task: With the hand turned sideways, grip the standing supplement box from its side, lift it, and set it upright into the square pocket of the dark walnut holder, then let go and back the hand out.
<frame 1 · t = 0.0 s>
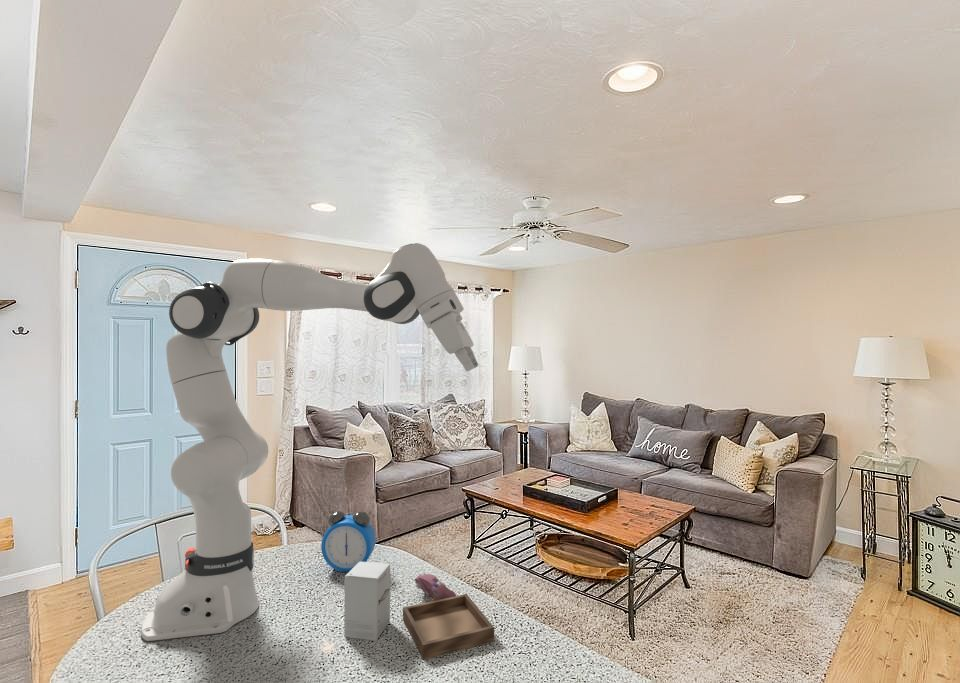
hand: (473, 368, 108), 54 cm above the table, tool tilted 30°, fingers open, 8 cm apart
walnut holder: (446, 630, 105), on the table
video game controller: (434, 599, 119), on the table
supplement box: (367, 630, 106), on the table
alarm clock: (349, 568, 135), on the table
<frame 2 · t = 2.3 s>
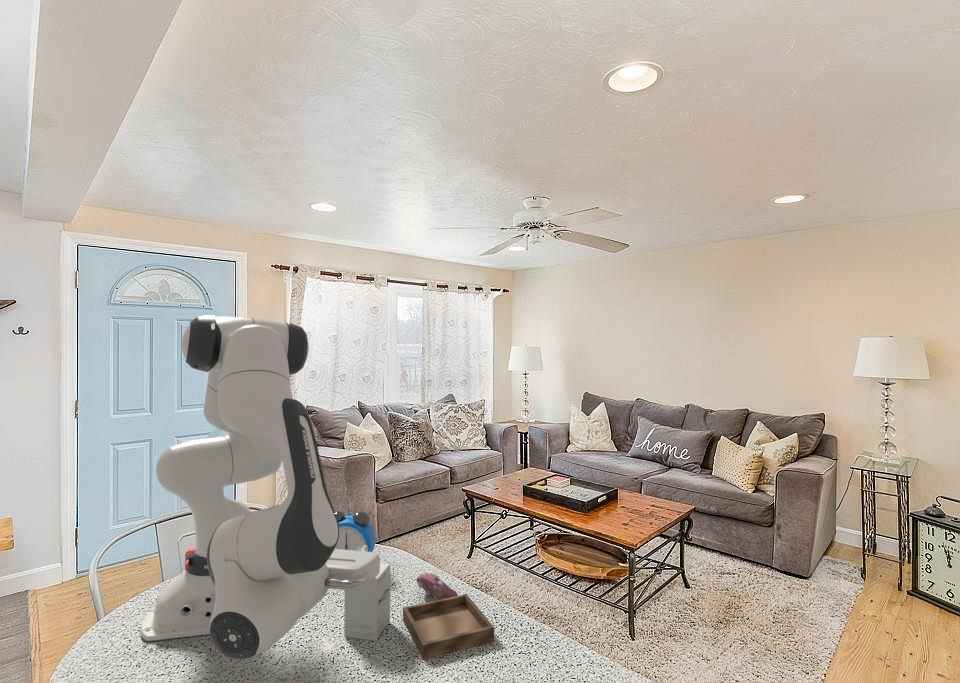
hand: (340, 547, 94), 22 cm above the table, tool horizontal, fingers open, 8 cm apart
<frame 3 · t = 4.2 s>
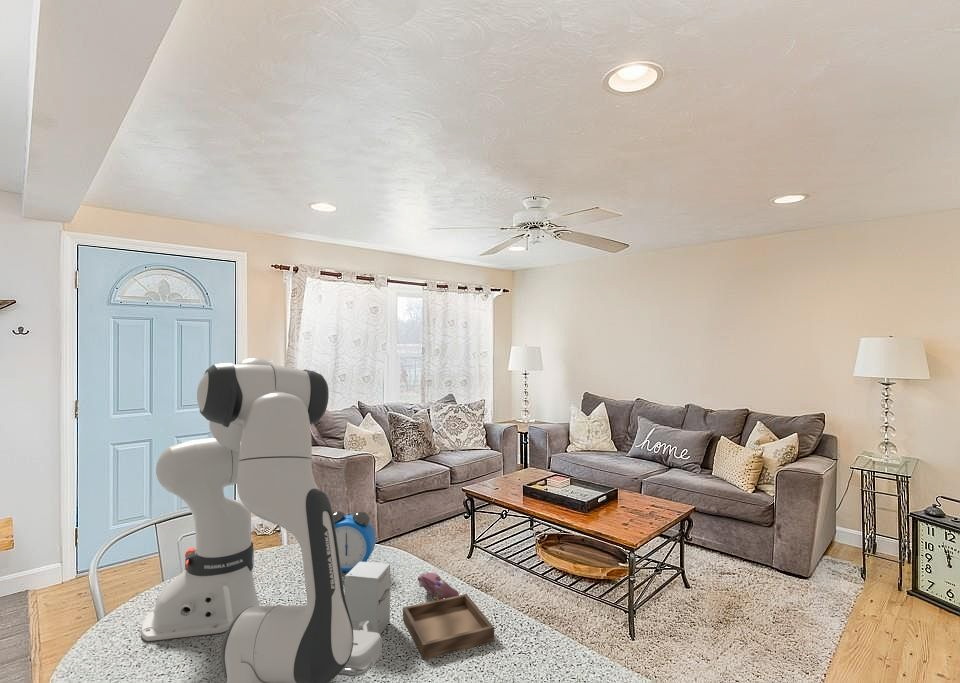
hand: (343, 621, 95), 7 cm above the table, tool horizontal, fingers open, 8 cm apart
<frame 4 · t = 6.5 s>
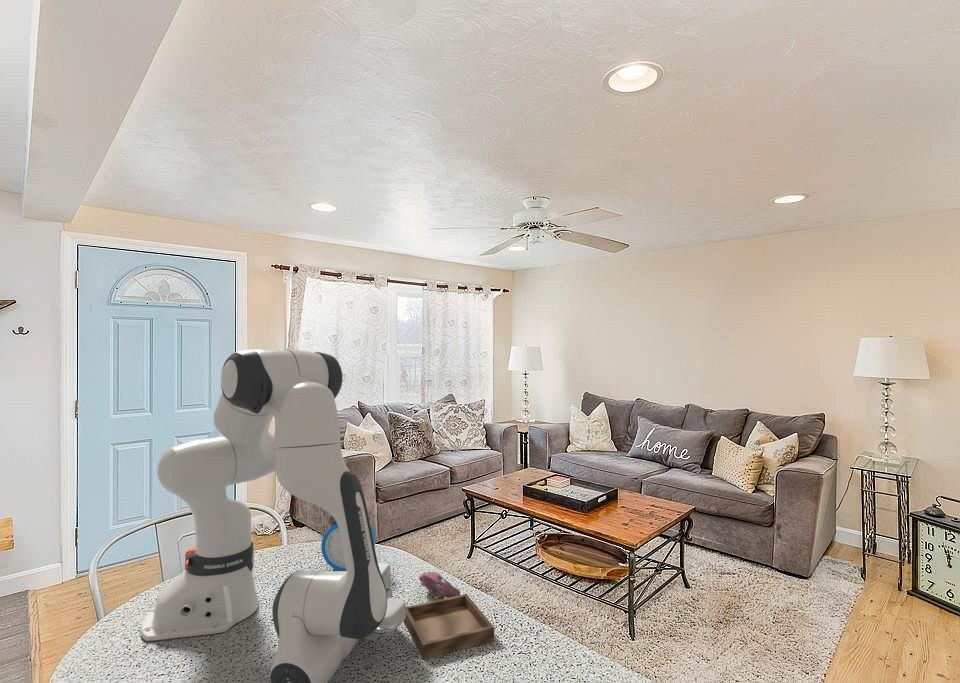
hand: (369, 591, 107), 8 cm above the table, tool horizontal, fingers closed on supplement box, 7 cm apart
supplement box: (367, 630, 106), on the table, touching gripper
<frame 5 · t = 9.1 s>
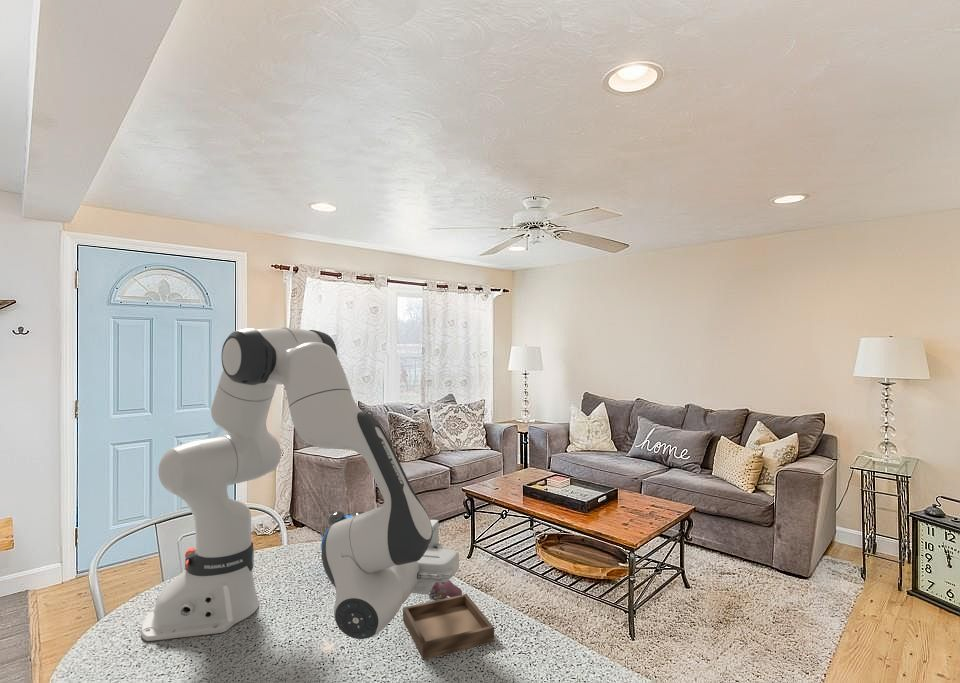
hand: (418, 545, 106), 17 cm above the table, tool horizontal, fingers closed on supplement box, 7 cm apart
supplement box: (417, 586, 105), point 9 cm above the table, touching gripper
when the fingers open (9 cm above the table, at t = 11.9 s): supplement box stays where it is, resting on walnut holder.
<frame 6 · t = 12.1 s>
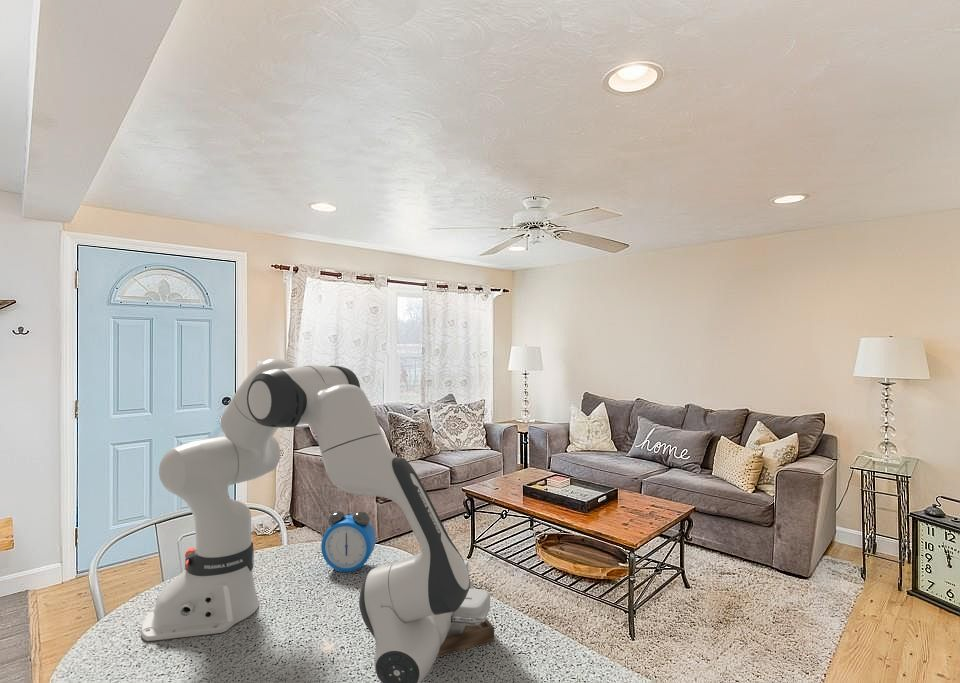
hand: (447, 582, 106), 10 cm above the table, tool horizontal, fingers open, 8 cm apart
supplement box: (448, 627, 105), point 1 cm above the table, touching gripper, walnut holder
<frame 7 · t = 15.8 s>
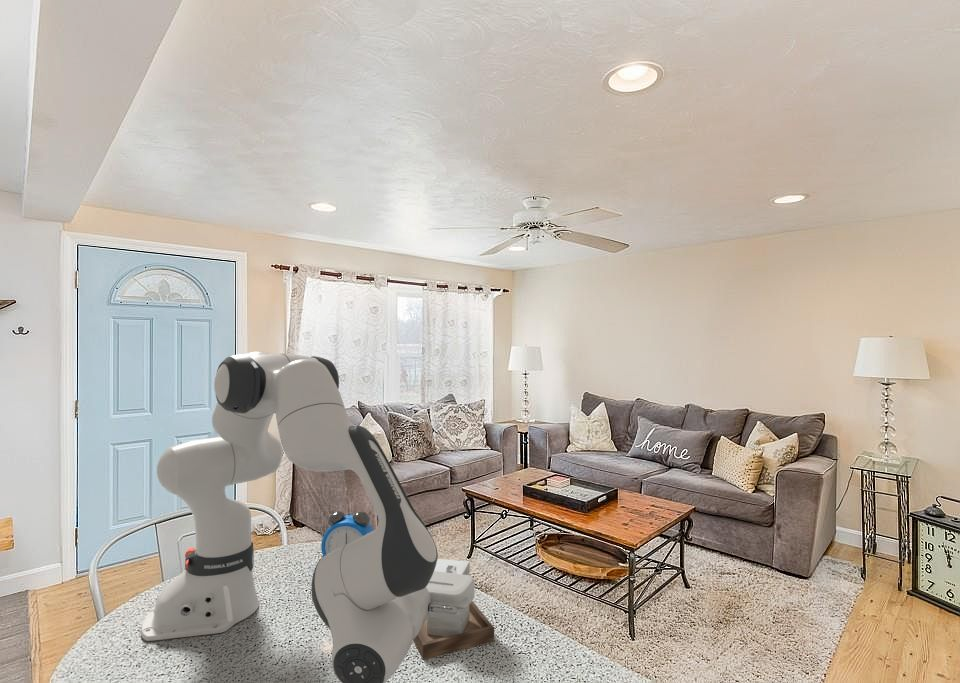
hand: (427, 566, 94), 18 cm above the table, tool horizontal, fingers open, 8 cm apart
supplement box: (448, 628, 105), point 1 cm above the table, touching walnut holder
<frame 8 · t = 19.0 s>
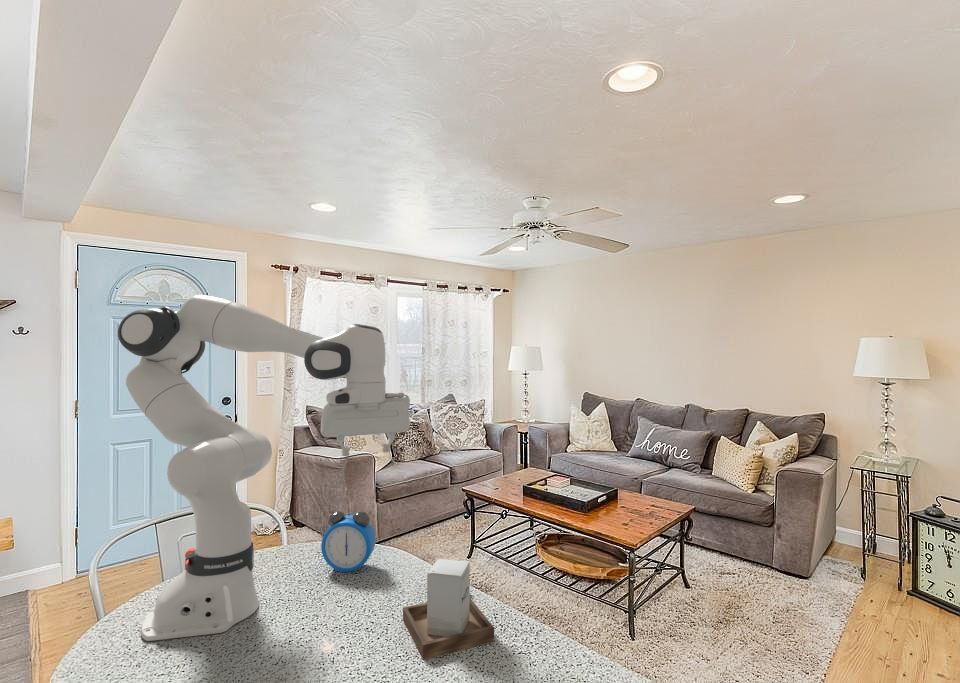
hand: (366, 453, 118), 34 cm above the table, tool pointing down, fingers open, 8 cm apart
at the end: supplement box 0.5 cm off-centre on the walnut holder, point 0.6 cm above the walnut holder's base; supplement box tilted 0°; the gripper is holding nothing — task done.
